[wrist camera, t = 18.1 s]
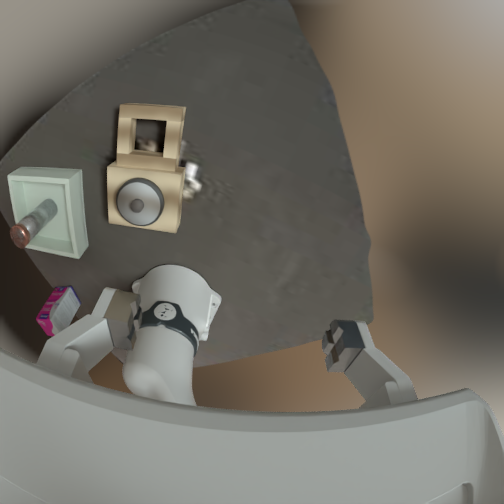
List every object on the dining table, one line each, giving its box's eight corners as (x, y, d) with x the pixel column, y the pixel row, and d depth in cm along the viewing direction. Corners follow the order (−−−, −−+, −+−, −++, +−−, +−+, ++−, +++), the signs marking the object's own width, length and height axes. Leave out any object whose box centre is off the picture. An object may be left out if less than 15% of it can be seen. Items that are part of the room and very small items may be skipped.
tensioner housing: (180, 222, 47) (172, 241, 42) (116, 213, 45) (103, 230, 41) (194, 107, 36) (186, 112, 31) (119, 102, 35) (102, 107, 30)
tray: (88, 245, 49) (79, 258, 45) (32, 235, 47) (21, 246, 43) (81, 169, 40) (68, 179, 37) (21, 166, 38) (7, 175, 34)
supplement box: (71, 284, 55) (50, 320, 46) (82, 303, 58) (64, 338, 49) (55, 285, 55) (34, 319, 46) (65, 303, 59) (47, 337, 49)
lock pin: (59, 218, 44) (29, 249, 35) (44, 216, 44) (13, 246, 34) (56, 198, 42) (23, 227, 33) (41, 197, 41) (8, 225, 32)
